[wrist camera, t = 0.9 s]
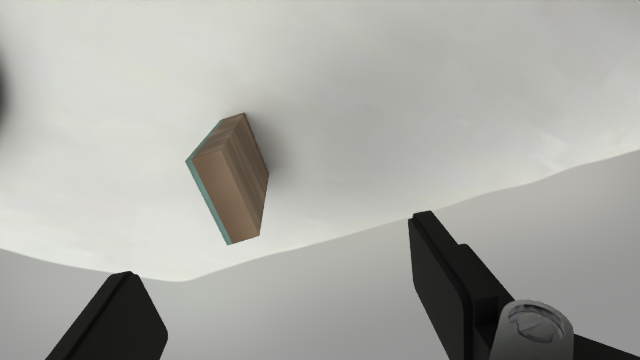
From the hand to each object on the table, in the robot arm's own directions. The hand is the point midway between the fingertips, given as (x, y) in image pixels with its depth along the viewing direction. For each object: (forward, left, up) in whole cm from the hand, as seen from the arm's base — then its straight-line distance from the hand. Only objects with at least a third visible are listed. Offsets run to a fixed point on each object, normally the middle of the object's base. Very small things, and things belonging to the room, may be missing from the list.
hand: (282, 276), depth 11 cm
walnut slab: (+5, +2, -24) cm, 25 cm away
